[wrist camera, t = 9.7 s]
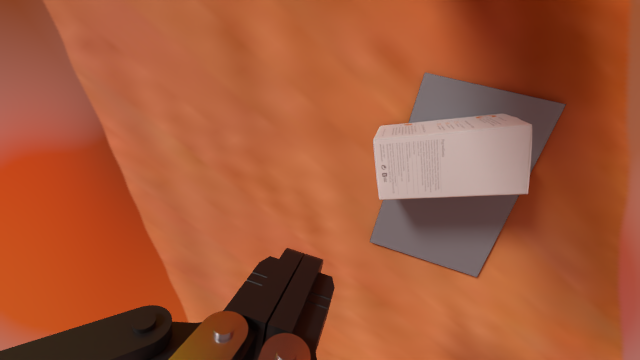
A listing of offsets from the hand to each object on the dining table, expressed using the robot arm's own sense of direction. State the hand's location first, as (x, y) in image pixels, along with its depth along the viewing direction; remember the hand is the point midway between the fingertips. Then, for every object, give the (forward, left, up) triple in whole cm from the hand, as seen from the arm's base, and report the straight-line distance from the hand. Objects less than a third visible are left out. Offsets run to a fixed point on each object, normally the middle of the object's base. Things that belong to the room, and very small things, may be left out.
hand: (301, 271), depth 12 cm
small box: (+1, +2, -23) cm, 23 cm away
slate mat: (+2, +11, -27) cm, 29 cm away
